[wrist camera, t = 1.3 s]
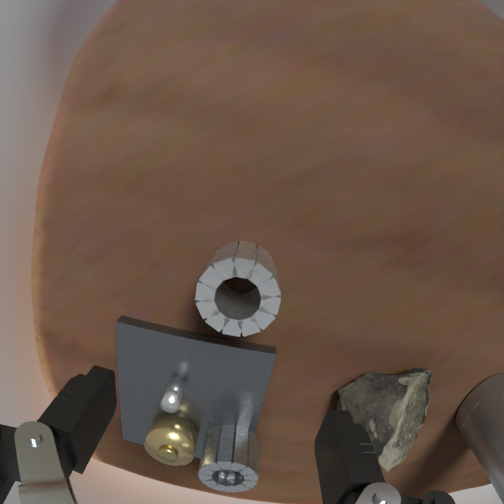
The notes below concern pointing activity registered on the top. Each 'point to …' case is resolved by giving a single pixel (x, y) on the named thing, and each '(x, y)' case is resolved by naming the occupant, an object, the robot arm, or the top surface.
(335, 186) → the top surface
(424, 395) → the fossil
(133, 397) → the carrier
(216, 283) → the planet gear
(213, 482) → the grey hollow pipe
